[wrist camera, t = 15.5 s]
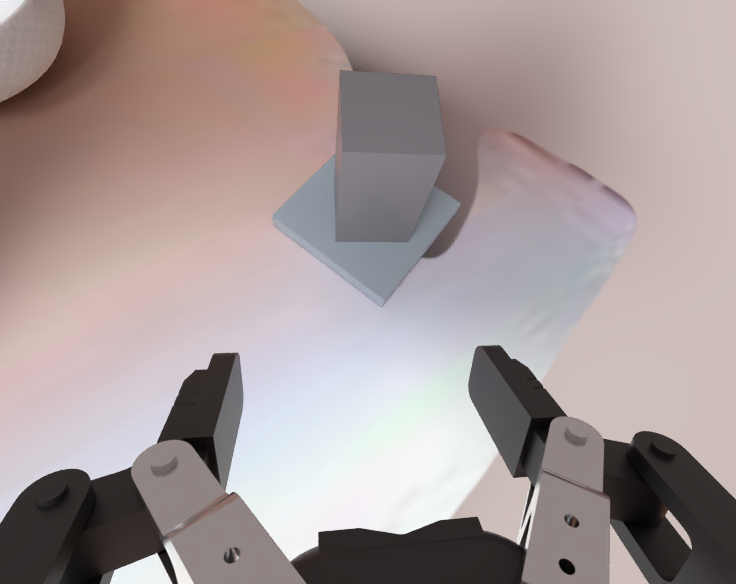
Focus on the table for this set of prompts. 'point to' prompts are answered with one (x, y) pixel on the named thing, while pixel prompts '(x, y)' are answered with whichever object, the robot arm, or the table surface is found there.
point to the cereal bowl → (28, 41)
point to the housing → (385, 154)
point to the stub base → (359, 259)
